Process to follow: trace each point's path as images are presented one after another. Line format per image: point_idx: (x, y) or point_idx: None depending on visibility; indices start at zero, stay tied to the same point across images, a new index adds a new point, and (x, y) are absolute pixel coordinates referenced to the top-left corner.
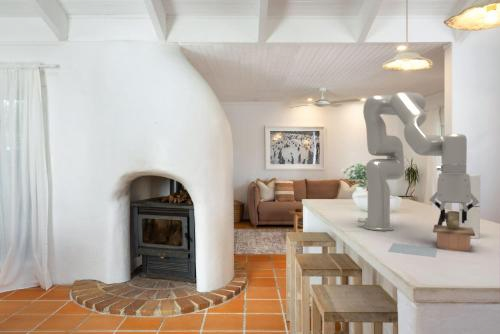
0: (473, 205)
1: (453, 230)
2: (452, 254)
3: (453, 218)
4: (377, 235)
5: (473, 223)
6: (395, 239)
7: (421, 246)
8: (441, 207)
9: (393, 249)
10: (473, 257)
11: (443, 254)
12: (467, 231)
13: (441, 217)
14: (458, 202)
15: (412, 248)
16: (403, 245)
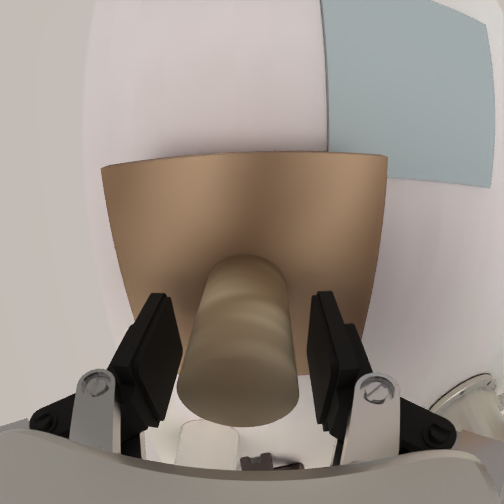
0: (34, 424)
1: (241, 221)
2: (249, 89)
3: (236, 307)
4: (496, 318)
5: (188, 462)
6: (465, 290)
7: (397, 167)
8: (379, 403)
9: (481, 60)
10: (157, 85)
11: (291, 66)
12: (148, 232)
13: (346, 327)
14: (123, 459)
15: (430, 102)
16: (462, 154)
